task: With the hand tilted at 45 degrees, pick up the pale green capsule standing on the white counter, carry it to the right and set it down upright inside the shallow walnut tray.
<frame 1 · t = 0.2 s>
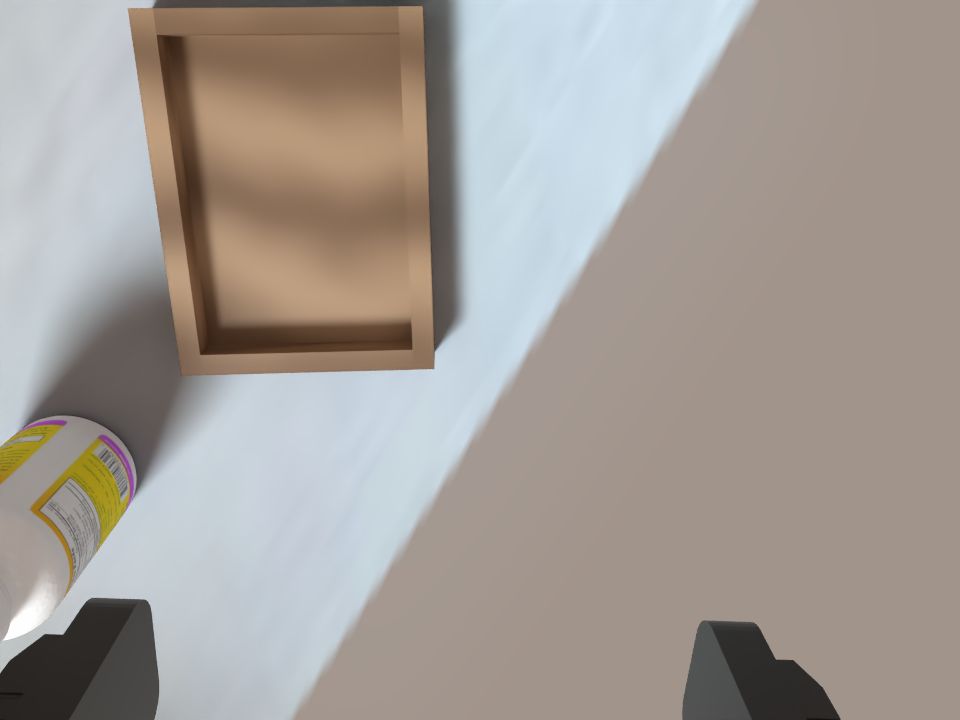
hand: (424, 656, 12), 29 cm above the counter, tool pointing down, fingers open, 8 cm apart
supplement bottle: (78, 467, 42), on the counter
tray: (302, 195, 37), on the counter
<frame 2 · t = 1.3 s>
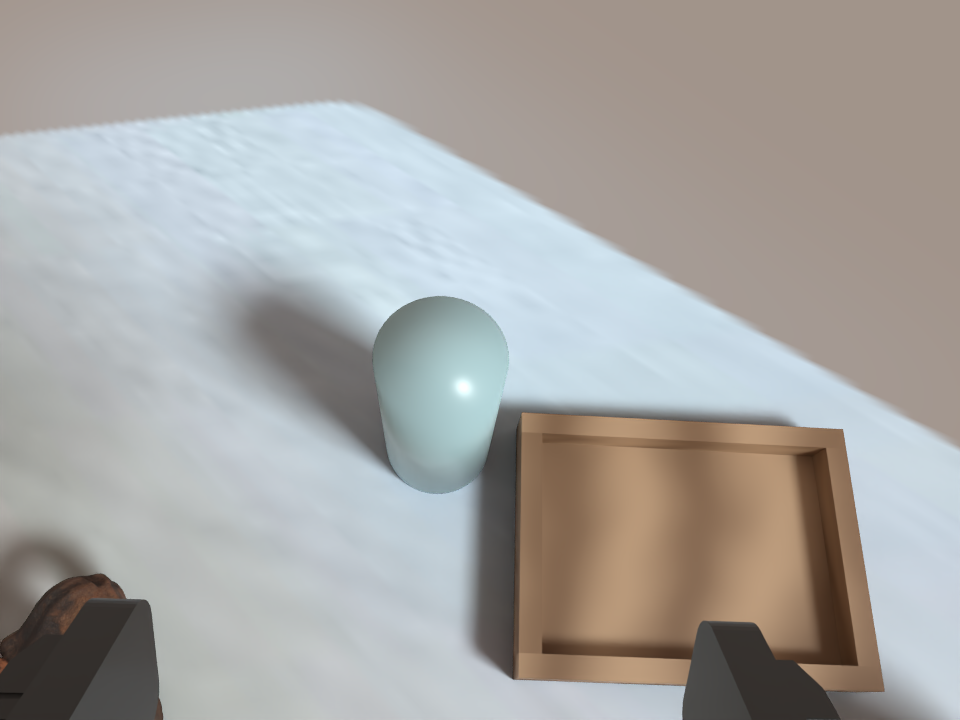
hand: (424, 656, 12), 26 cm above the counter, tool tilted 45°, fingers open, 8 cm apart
pale green capsule: (437, 443, 40), on the counter
tray: (677, 553, 39), on the counter
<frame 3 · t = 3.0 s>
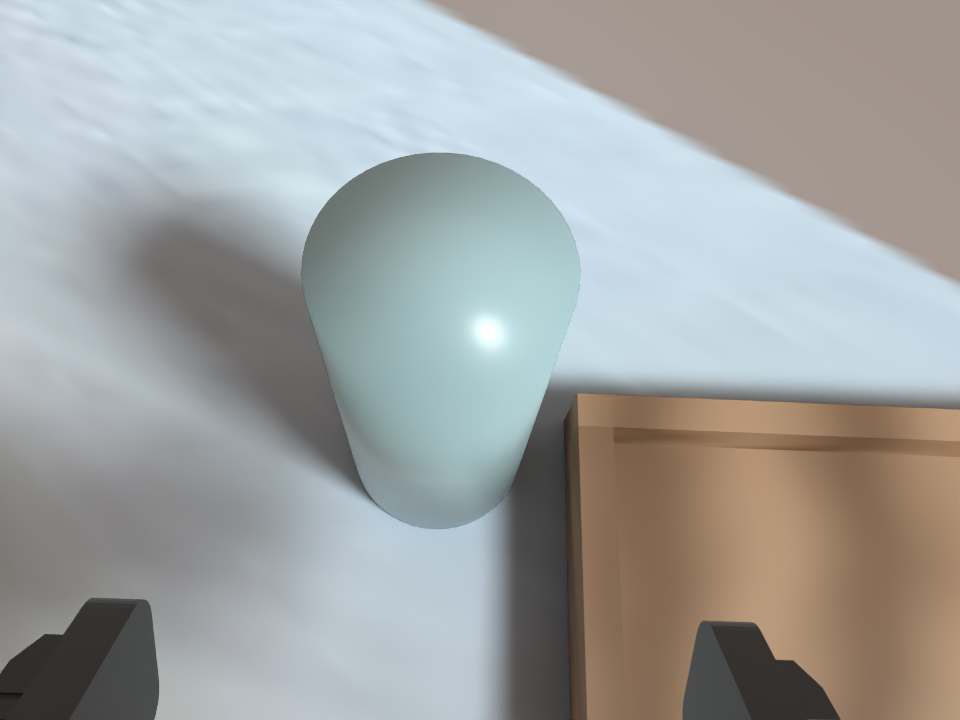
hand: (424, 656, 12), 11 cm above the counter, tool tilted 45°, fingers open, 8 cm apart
pale green capsule: (438, 446, 25), on the counter
tray: (836, 624, 23), on the counter
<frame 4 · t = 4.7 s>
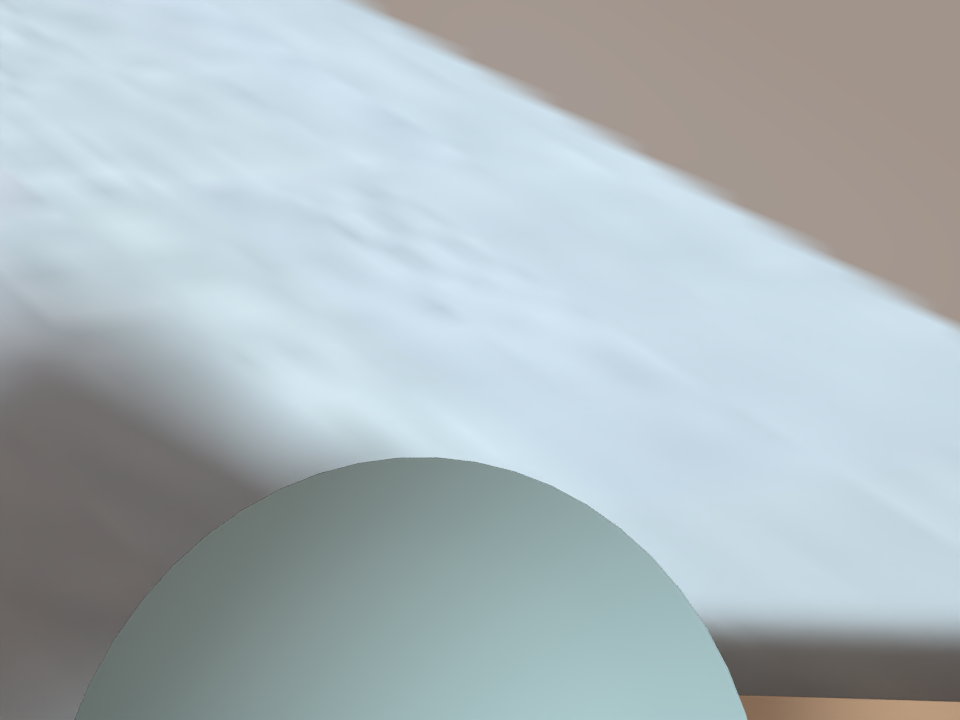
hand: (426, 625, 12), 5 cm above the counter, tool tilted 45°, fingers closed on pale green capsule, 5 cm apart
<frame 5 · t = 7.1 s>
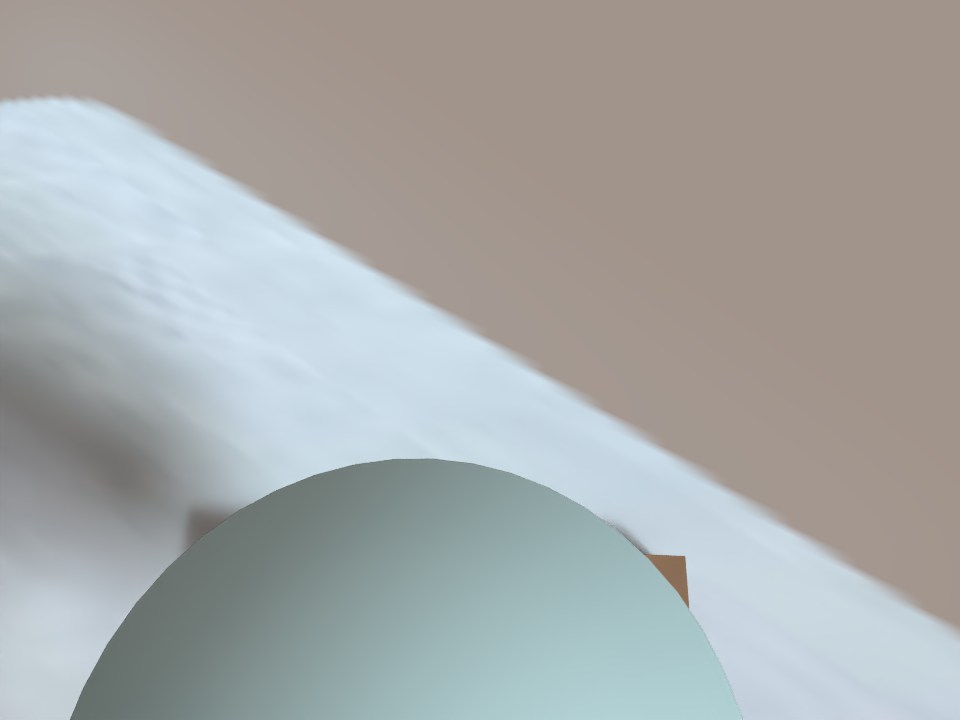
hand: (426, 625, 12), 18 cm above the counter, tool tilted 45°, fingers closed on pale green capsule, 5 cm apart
when the fingers open (7 cm above the counter, at t = 9.7 s): pale green capsule drops 1 cm, resting on tray.
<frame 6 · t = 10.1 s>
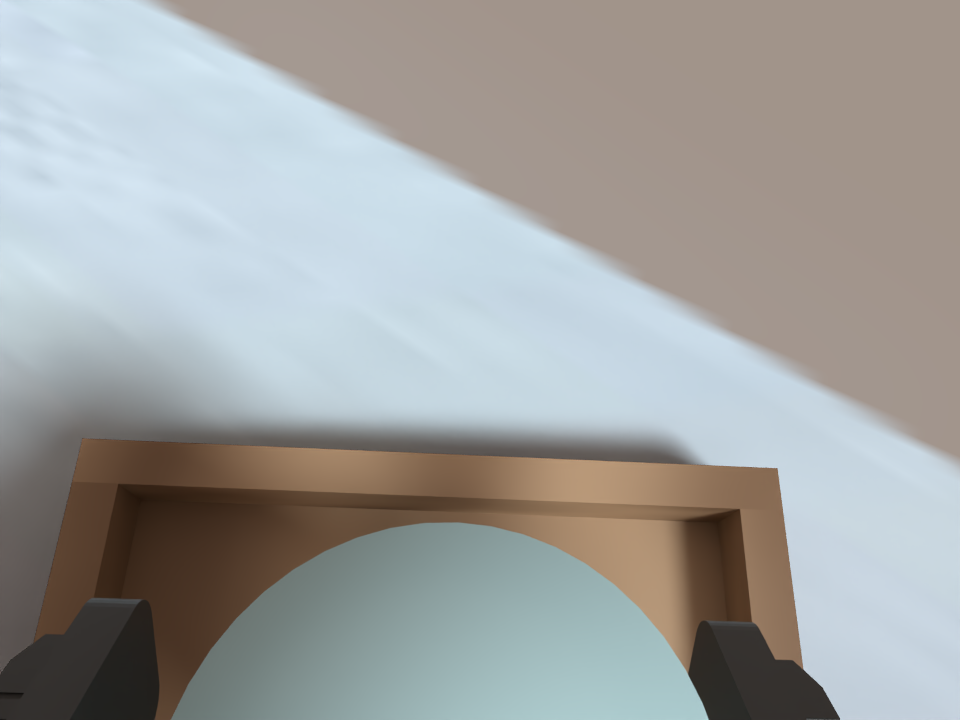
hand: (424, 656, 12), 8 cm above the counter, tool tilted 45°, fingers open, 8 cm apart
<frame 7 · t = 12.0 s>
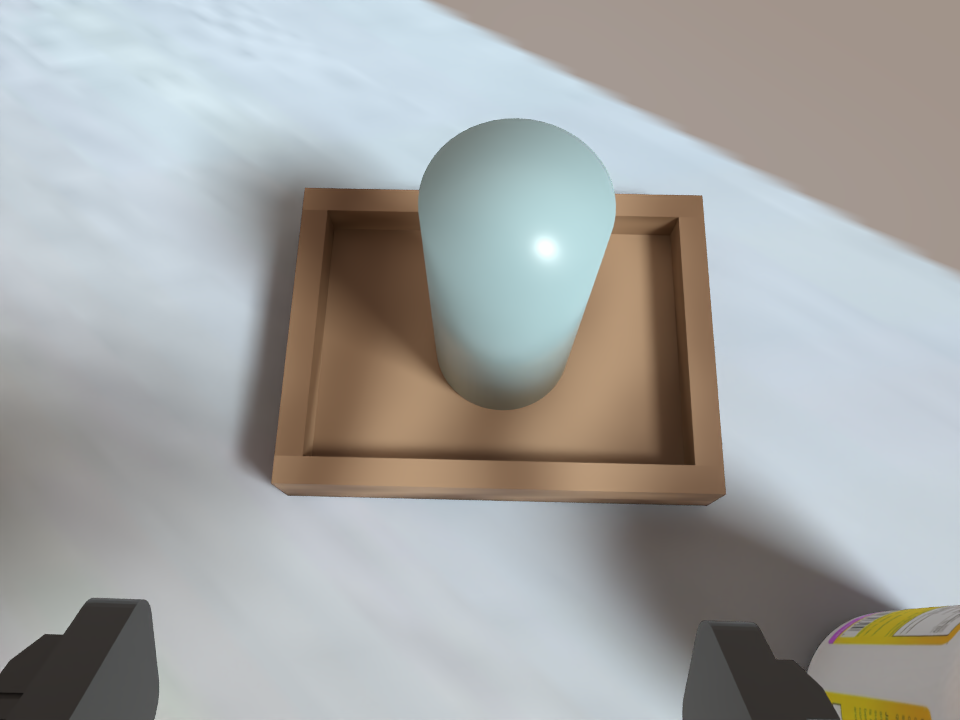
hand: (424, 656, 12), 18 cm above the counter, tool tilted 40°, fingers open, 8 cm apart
pale green capsule: (502, 346, 31), point 1 cm above the counter, touching tray
supplement bottle: (890, 710, 28), on the counter
tray: (499, 352, 32), on the counter
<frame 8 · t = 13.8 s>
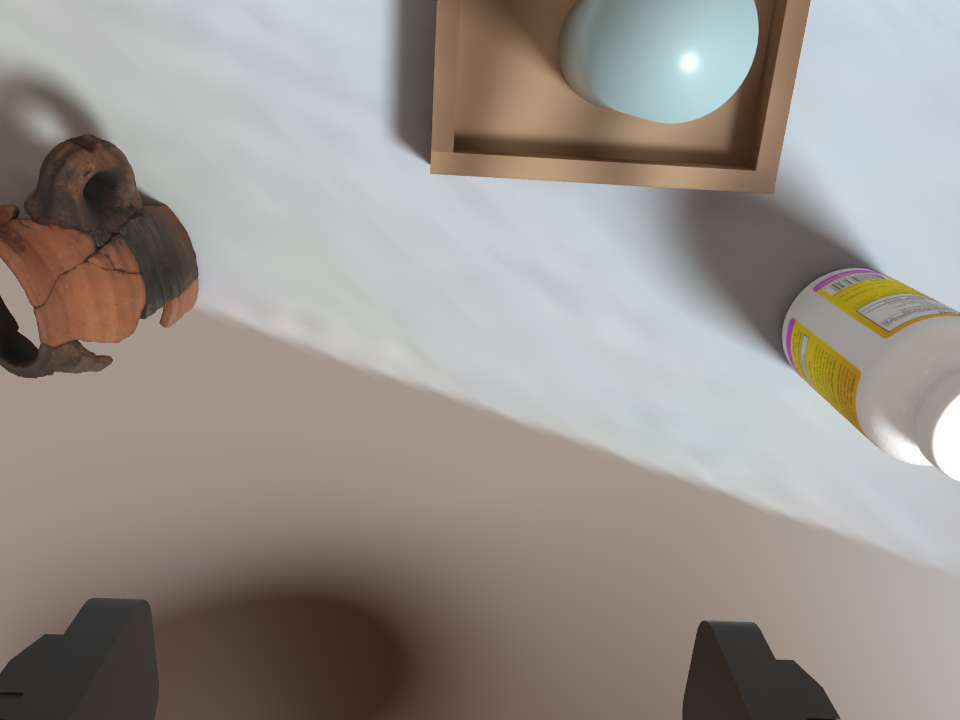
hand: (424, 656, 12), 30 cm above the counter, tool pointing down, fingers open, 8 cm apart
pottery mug: (107, 241, 40), on the counter
pale green capsule: (615, 47, 36), point 1 cm above the counter, touching tray
supplement bottle: (838, 323, 42), on the counter
tray: (609, 44, 37), on the counter
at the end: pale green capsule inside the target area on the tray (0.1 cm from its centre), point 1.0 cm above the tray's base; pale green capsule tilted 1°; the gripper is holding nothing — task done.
